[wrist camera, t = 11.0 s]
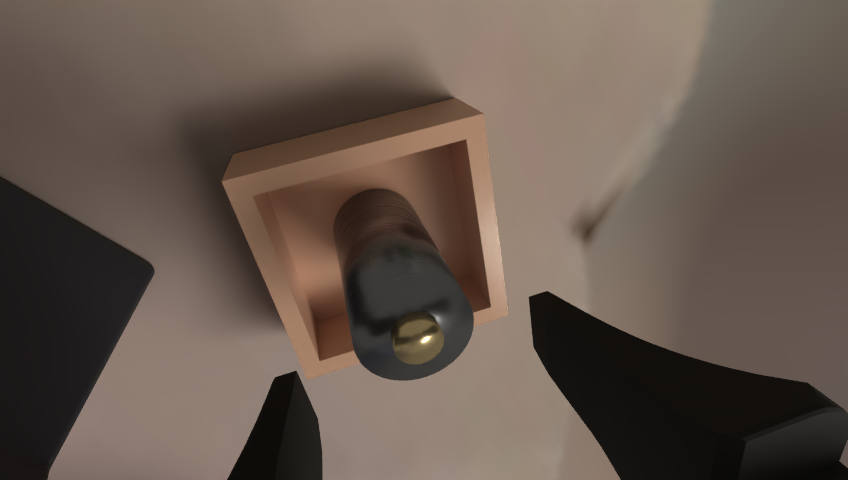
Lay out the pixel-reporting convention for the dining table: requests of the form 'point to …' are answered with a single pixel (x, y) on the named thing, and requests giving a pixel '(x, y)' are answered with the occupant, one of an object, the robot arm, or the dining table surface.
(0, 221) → the black box
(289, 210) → the tray
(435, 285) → the pepper mill
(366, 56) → the dining table surface
